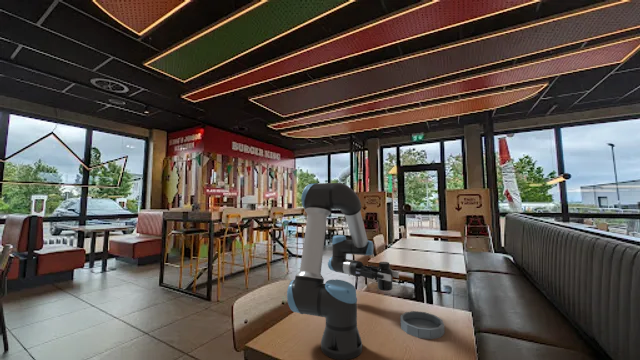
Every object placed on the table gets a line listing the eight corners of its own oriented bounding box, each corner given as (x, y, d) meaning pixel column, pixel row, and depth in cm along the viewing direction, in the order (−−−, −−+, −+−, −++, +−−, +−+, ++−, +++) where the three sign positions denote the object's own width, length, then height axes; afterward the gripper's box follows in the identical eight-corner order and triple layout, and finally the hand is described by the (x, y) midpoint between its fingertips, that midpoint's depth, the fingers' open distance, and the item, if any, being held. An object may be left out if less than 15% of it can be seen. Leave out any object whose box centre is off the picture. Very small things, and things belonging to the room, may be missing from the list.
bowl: (417, 341, 101) (417, 332, 102) (393, 322, 118) (393, 314, 118) (453, 335, 106) (453, 326, 106) (425, 317, 122) (425, 309, 123)
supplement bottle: (391, 286, 127) (390, 261, 128) (393, 291, 120) (393, 264, 121) (376, 286, 127) (376, 260, 128) (378, 291, 121) (377, 264, 122)
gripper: (364, 271, 143) (404, 280, 128) (342, 279, 129) (383, 290, 113) (364, 257, 144) (404, 264, 128) (341, 263, 130) (383, 272, 114)
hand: (394, 276), depth 121 cm, fingers closed on supplement bottle, 7 cm apart
